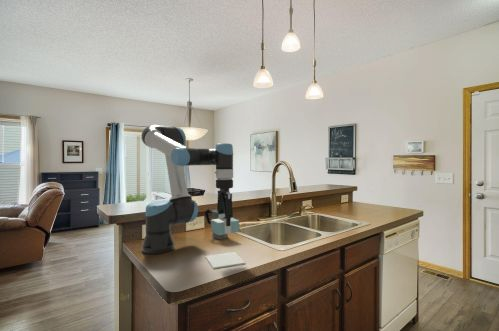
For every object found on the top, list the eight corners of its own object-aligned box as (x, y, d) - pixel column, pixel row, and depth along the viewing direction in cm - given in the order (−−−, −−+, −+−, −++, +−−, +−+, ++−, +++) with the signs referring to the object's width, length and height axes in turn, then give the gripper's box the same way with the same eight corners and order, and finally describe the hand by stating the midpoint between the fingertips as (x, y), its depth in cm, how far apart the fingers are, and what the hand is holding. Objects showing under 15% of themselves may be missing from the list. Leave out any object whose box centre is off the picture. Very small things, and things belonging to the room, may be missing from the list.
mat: (205, 257, 121) (205, 256, 121) (234, 253, 126) (234, 251, 126) (213, 269, 108) (213, 267, 108) (245, 263, 113) (245, 262, 113)
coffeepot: (232, 234, 156) (232, 204, 156) (229, 239, 147) (229, 207, 147) (207, 233, 158) (207, 203, 158) (202, 238, 149) (202, 206, 149)
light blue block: (231, 228, 122) (231, 216, 122) (239, 231, 116) (239, 220, 116) (211, 231, 117) (211, 219, 117) (218, 235, 111) (218, 222, 111)
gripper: (210, 177, 124) (210, 226, 125) (223, 181, 105) (223, 238, 105) (225, 177, 127) (225, 224, 128) (240, 180, 108) (240, 236, 108)
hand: (224, 230), depth 116 cm, fingers closed on light blue block, 8 cm apart
